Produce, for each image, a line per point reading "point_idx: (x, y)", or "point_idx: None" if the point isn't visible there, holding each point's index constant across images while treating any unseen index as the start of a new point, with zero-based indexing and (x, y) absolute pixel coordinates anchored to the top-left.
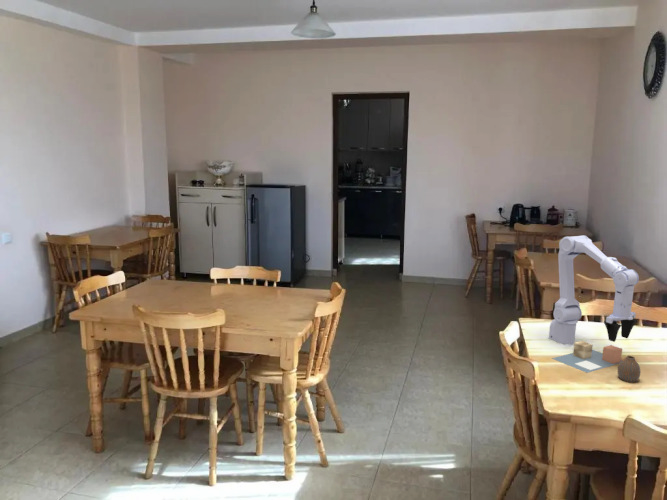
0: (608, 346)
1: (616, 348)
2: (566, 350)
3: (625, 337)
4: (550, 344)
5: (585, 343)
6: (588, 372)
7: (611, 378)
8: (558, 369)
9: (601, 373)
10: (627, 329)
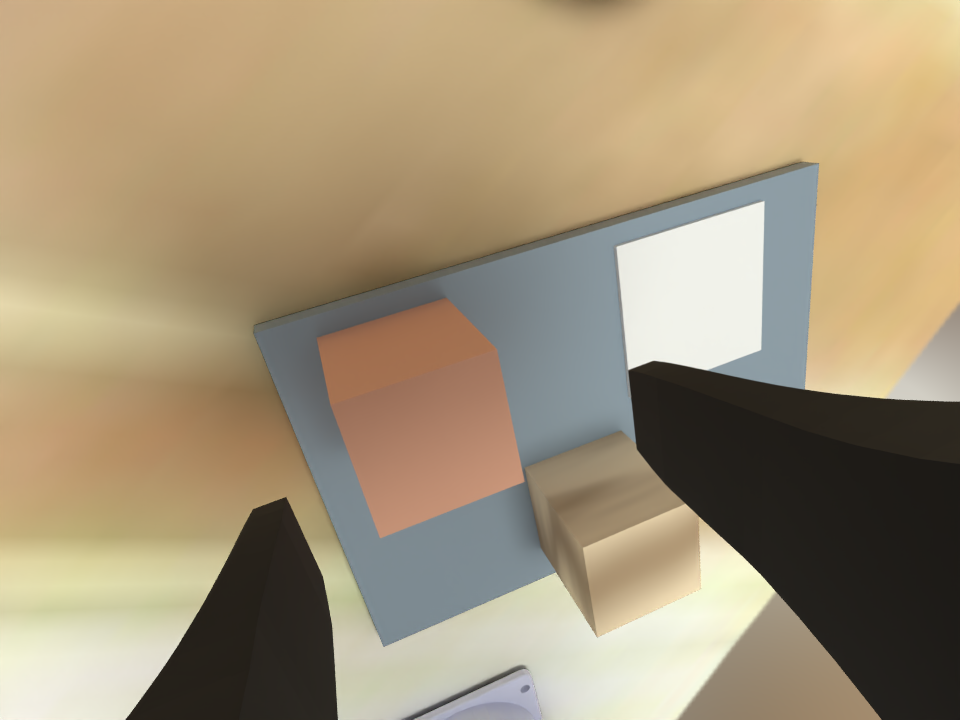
0: (452, 494)
1: (405, 424)
2: (558, 621)
3: (296, 523)
4: (578, 710)
5: (621, 576)
6: (801, 168)
7: (689, 18)
8: (872, 308)
9: (675, 157)
10: (282, 663)
